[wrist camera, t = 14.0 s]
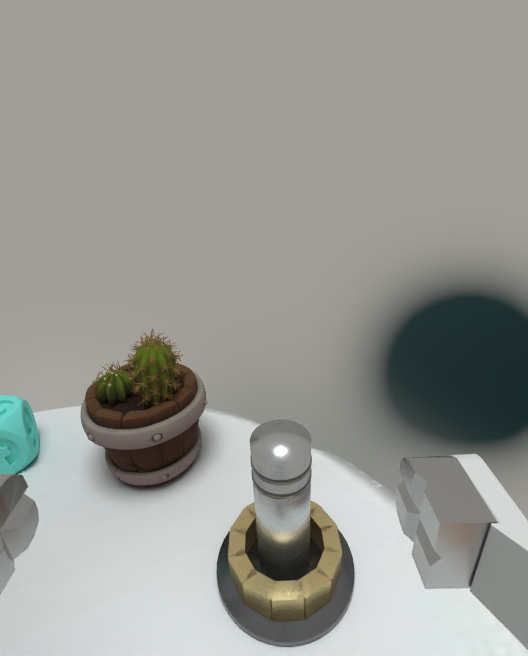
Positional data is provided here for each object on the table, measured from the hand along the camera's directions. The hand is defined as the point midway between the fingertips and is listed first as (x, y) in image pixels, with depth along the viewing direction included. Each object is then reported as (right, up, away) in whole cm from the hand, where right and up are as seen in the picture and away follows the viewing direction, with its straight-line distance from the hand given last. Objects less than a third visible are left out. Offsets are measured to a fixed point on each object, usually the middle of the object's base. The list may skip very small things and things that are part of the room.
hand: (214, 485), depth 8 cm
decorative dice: (-34, -15, +43) cm, 57 cm away
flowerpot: (-13, -14, +42) cm, 46 cm away
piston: (+3, -19, +28) cm, 34 cm away
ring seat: (+3, -20, +28) cm, 34 cm away
